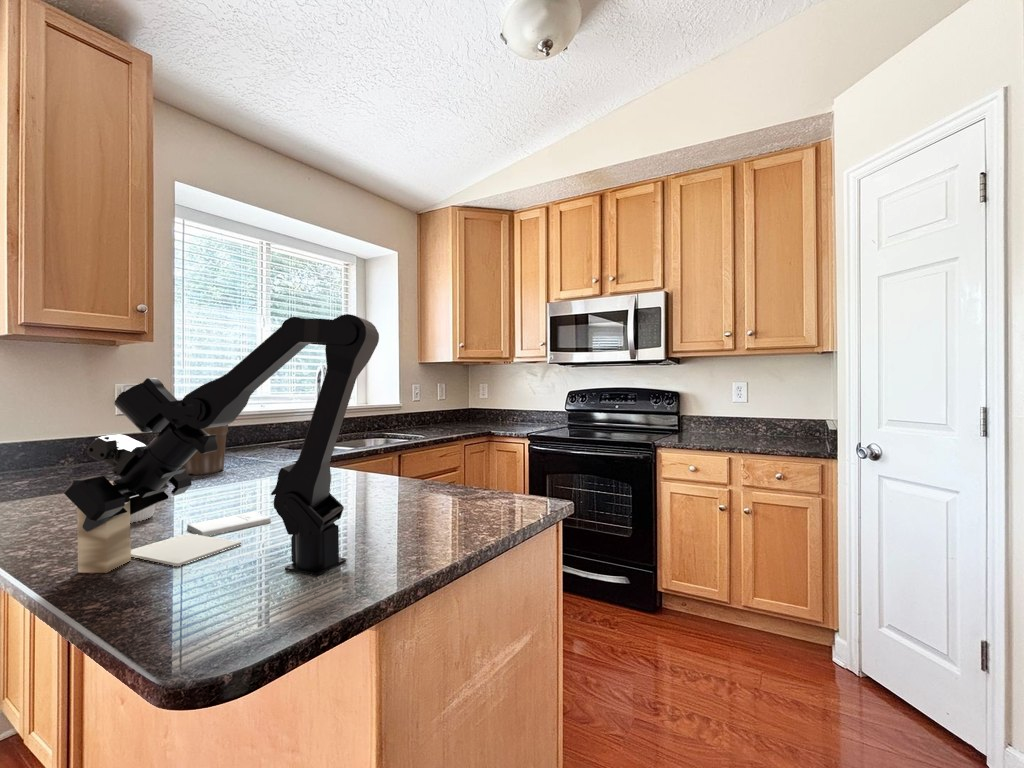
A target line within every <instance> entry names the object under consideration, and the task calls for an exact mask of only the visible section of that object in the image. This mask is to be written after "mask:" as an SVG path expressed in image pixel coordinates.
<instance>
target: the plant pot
mask: <svg viewBox="0 0 1024 768" xmlns="http://www.w3.org/2000/svg"><path fill="white" fill-rule="evenodd" d="M203 430H204V431H205V432H206V433H207V434H209V435H213V434H215V435H216V442H217V446H218V450H217V451H213V452H209V453H205V454H201V453H200V452H199V451H197V452H196V453H195V454H194V455H193V456H192V457H191V458H190V459H189V460H188V461H187V462H186V463H185V464H184V466H185V467H186V470H185V472H186V473H187V474H188V475H189V476H190V475H194V476H198V475H210V474H214V473H218V472H220V471H224V470H225V455H226V445H227V444H226V443H227V434H228V432H229V431H228V430H229V424H228V425H225V426H218V427H211V428H204V429H203Z"/></svg>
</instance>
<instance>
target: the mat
mask: <svg viewBox="0 0 1024 768" xmlns="http://www.w3.org/2000/svg"><path fill="white" fill-rule="evenodd" d="M240 544H241V545H242V541H236V540H231V539H225V538H219V537H212V536H202V535H196V534H195V533H188V532H187V533H184V534H179V535H178V536H177V535H176V536H174V537H169V538H167V539H163V540H160V541H157V542H152V543H150V544H147V545H142V546H139V547H136V548H131V557H135V558H140V559H144V560H150V561H156V562H161V563H166V564H170V565H174V566H180V565H182V564H186V563H188V562H191V561H194V560H197V559H199V558H202V557H205V556H208V555H211V554H214V553H217V552H220V551H222V550H225V549H228V548H231V547H234V546H237V545H240ZM135 558H134V559H135ZM144 560H143V561H144ZM186 565H187V564H186ZM174 566H173V567H174ZM180 567H181V566H180Z"/></svg>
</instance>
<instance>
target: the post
mask: <svg viewBox="0 0 1024 768" xmlns="http://www.w3.org/2000/svg"><path fill="white" fill-rule="evenodd" d="M108 481H109V482H110V483H111V484H112V482H113V481H114V480H108ZM112 485H113V484H112ZM123 508H124V509H125V510H126V511H127V513H125V514H123V515H121V516H119V517H117V518H115V519H113V520H111V521H109V522H107V523H105V524H103V525H101V526H99V527H97V528H95V529H93V530H91V531H88V532H86V531H85V530H84V529H83V527H82V526H83V524H84V521H85V518H86V515H85V514H84V513H83V512H82V511H81V510H80V509H79V508H78V507H77V506H76V515H77V516H76V518H77V520H76V523H77V526H76V527H77V528H76V529H77V573H83V574H85V573H89V574H91V573H105V574H107V573H110V572H112V571H113V569H114V570H115V568H116V569H118V568H120V567H122V566H124V565H123V564H125V563H127V562H129V561H131V562H132V558H131V550H132V546H131V545H132V544H131V524H130V501H129V502H128V503H126V504H125V506H124V507H123ZM129 563H130V562H129ZM127 564H128V563H127ZM121 565H122V566H121ZM125 565H126V564H125ZM119 566H120V567H119ZM117 567H118V568H117ZM111 570H112V571H111Z"/></svg>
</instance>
